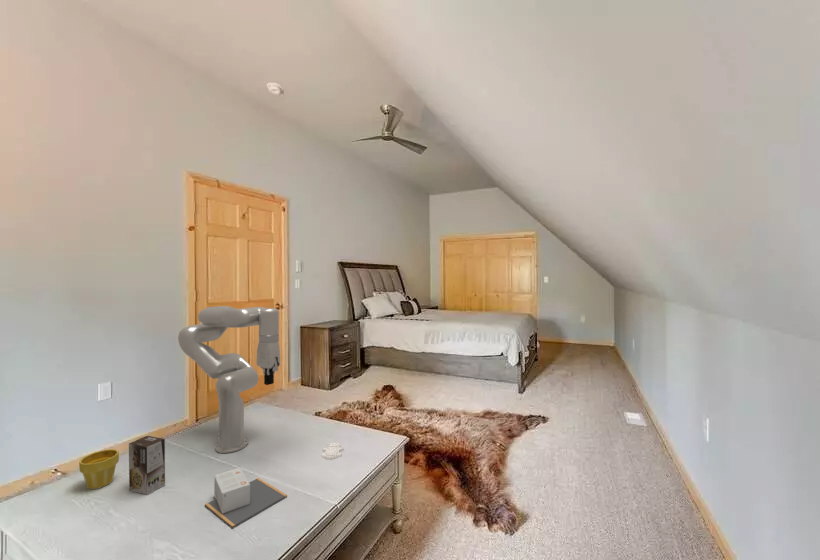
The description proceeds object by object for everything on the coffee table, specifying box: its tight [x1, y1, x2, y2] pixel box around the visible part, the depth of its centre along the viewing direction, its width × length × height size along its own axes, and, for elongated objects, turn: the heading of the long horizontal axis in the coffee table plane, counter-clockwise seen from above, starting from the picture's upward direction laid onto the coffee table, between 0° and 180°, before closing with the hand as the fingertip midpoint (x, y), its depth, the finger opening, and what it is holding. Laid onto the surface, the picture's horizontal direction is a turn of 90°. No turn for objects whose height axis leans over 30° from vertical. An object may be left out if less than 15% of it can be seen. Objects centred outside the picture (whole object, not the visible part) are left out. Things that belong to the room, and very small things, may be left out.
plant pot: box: [78, 448, 120, 490], centre depth 122 cm, size 10×10×10 cm
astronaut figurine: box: [321, 442, 345, 461], centre depth 144 cm, size 9×12×3 cm
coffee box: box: [128, 435, 166, 496], centre depth 120 cm, size 9×6×16 cm
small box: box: [213, 467, 250, 514], centre depth 112 cm, size 8×6×13 cm
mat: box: [204, 477, 288, 530], centre depth 112 cm, size 17×18×1 cm
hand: (268, 383), depth 141 cm, fingers closed
